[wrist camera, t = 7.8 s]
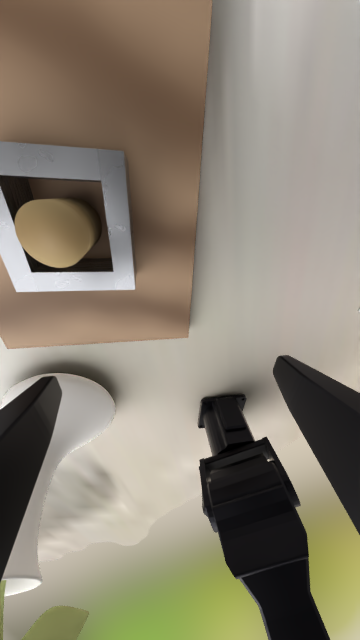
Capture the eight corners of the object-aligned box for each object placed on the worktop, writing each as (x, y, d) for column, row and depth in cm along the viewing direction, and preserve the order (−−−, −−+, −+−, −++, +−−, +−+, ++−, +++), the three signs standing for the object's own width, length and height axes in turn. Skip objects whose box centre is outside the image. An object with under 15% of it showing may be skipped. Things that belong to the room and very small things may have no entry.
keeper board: (185, 328, 21) (198, 371, 16) (16, 338, 19) (-31, 392, 14) (205, 10, 10) (262, -162, 5) (-183, -60, 8) (-726, -480, 3)
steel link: (136, 274, 16) (135, 289, 13) (38, 275, 15) (16, 292, 12) (128, 159, 12) (123, 150, 9) (-5, 150, 11) (-50, 137, 8)
